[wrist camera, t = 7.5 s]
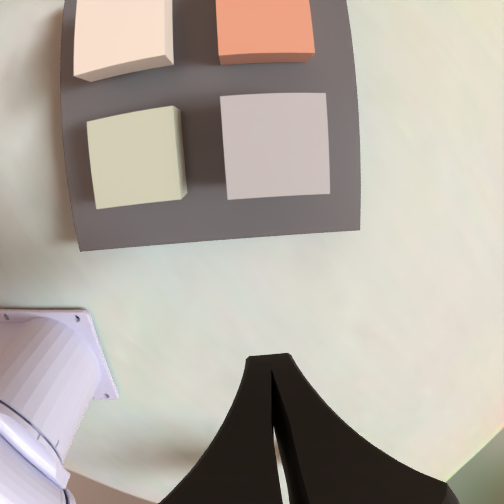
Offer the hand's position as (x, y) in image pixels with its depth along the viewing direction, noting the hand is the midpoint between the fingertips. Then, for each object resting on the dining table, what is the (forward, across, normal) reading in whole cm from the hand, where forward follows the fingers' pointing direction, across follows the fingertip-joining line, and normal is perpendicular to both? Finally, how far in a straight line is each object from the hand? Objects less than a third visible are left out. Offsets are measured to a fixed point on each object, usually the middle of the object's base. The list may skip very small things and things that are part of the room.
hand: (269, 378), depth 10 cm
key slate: (+6, -1, -7) cm, 9 cm away
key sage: (+7, +5, -7) cm, 11 cm away
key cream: (+6, +5, -13) cm, 15 cm away
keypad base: (+9, +2, -10) cm, 14 cm away
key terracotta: (+7, -1, -13) cm, 15 cm away
